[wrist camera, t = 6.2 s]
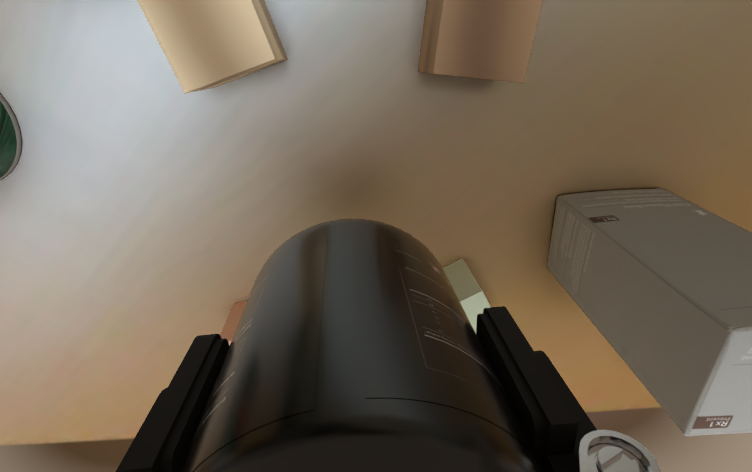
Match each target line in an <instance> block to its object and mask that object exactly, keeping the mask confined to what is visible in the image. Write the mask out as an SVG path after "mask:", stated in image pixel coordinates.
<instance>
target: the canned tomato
mask: <svg viewBox="0 0 752 472" xmlns="http://www.w3.org/2000/svg"><path fill="white" fill-rule="evenodd" d="M21 143H22V141H21V134H20V129H19V126H18V123H17V120H16V117H15V115H14V114H13V112H12V110H11V108H10V106H9V105H8V103H7V102H6V101H5V99H4V98H3V97H2V95H1V94H0V180H1V179H3V178H5V177H6V176H7V175H8V174H9V173H11V172H12V170H13V169H14V167H15V166H16V164H17V163H18V160H19V157H20V154H21Z"/></svg>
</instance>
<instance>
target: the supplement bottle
mask: <svg viewBox="0 0 752 472" xmlns="http://www.w3.org/2000/svg"><path fill="white" fill-rule="evenodd" d="M181 472H544V470H543V468H542V466H541V463H540V461H539V459H538V457H537V455H536V453H535V451H534V449H533V447H532V445H531V443H530V441H529V439H528V437H527V435H526V433H525V431H524V429H523V427H522V425H521V423H520V421H519V419H518V417H517V415H516V413H515V411H514V409H513V407H512V405H511V403H510V401H509V399H508V397H507V395H506V393H505V391H504V389H503V387H502V385H501V383H500V381H499V379H498V377H497V375H496V373H495V371H494V369H493V367H492V365H491V363H490V361H489V359H488V357H487V355H486V353H485V351H484V349H483V347H482V345H481V343H480V341H479V339H478V337H477V335H476V333H475V331H474V329H473V327H472V325H471V323H470V321H469V319H468V317H467V315H466V313H465V311H464V309H463V307H462V305H461V303H460V301H459V299H458V297H457V295H456V293H455V291H454V289H453V287H452V285H451V283H450V281H449V280H448V278H447V276H446V274H445V272H444V270H443V269H442V267H441V265H440V264H439V262H438V261H437V259H436V258H435V257H434V255H433V254H432V253H431V252H430V251H429V249H428V248H427V247H426V246H425V245H423V244H422V243H421V242H420V241H419V240H417V239H416V238H415V237H413V236H412V235H410V234H408V233H407V232H405V231H403V230H401V229H399V228H396V227H394V226H392V225H389V224H385V223H382V222H378V221H373V220H366V219H340V220H334V221H329V222H325V223H321V224H318V225H315V226H312V227H310V228H308V229H306V230H303V231H301V232H300V233H298V234H296V235H295V236H293V237H291V238H290V239H289V240H287V241H286V242H284V243H283V244H282V245H281V246H280V247H279V248H278V249H277V250H276V251H275V252H274V253H273V254H272V255H271V256H270V257H269V259H268V260H267V261H266V263H265V264H264V266H263V268H262V269H261V271H260V273H259V275H258V276H257V279H256V281H255V284H254V286H253V288H252V290H251V293H250V295H249V297H248V300H247V303H246V305H245V308H244V310H243V313H242V315H241V318H240V320H239V323H238V326H237V328H236V331H235V333H234V336H233V339H232V341H231V344H230V346H229V349H228V351H227V354H226V357H225V359H224V362H223V364H222V367H221V369H220V372H219V375H218V377H217V380H216V382H215V385H214V387H213V390H212V393H211V395H210V398H209V400H208V403H207V405H206V408H205V411H204V413H203V416H202V418H201V421H200V423H199V426H198V429H197V431H196V434H195V436H194V439H193V441H192V444H191V447H190V449H189V452H188V454H187V457H186V459H185V462H184V465H183V467H182V470H181Z"/></svg>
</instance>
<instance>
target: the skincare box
mask: <svg viewBox="0 0 752 472" xmlns="http://www.w3.org/2000/svg"><path fill="white" fill-rule="evenodd" d="M547 269H548V270H549V271H550V272H551V273H552V274H553V276H554V277H555V278H556V279H557V281H558V282H559V283H560V284H561V285H562V287H563V288H564V289H565V290H566V292H567V293H568V294H569V295H570V296H571V298H572V299H573V300H574V301H575V302H576V304H577V305H578V306H579V307H580V308H581V310H582V311H583V312H584V313H585V314H586V316H587V317H588V318H589V319H590V320H591V322H592V323H593V324H594V325H595V326H596V328H597V329H598V330H599V331H600V333H601V334H602V335H603V336H604V337H605V339H606V340H607V341H608V342H609V343H610V344H611V346H612V347H613V348H614V349H615V351H616V352H617V353H618V354H619V355H620V357H621V358H622V359H623V360H624V361H625V363H626V364H627V365H628V366H629V367H630V369H631V370H632V371H633V373H634V374H635V375H636V376H637V377H638V379H639V380H640V381H641V382H642V384H643V385H644V386H645V387H646V388H647V390H648V391H649V392H650V393H651V395H652V396H653V397H654V398H655V399H656V401H657V402H658V403H659V404H660V406H661V407H662V408H663V409H664V411H665V412H666V413H667V414H668V415H669V417H670V418H671V419H672V420H673V421H674V423H675V424H676V425H677V426H678V428H679V429H680V430H681V431H682V433H683V434H684V435H686V436H696V435H711V434H730V433H752V233H751V232H749V231H747V230H745V229H743V228H741V227H739V226H737V225H735V224H733V223H731V222H729V221H727V220H725V219H723V218H721V217H719V216H717V215H715V214H713V213H711V212H709V211H707V210H705V209H703V208H701V207H699V206H697V205H695V204H693V203H691V202H689V201H687V200H685V199H684V198H682V197H680V196H678V195H676V194H674V193H672V192H670V191H668V190H666V189H661V188H656V189H631V190H612V191H597V192H586V193H576V194H567V195H561V196H558V198H557V202H556V209H555V216H554V223H553V230H552V236H551V242H550V248H549V255H548V262H547Z"/></svg>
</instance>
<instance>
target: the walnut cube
mask: <svg viewBox="0 0 752 472" xmlns="http://www.w3.org/2000/svg"><path fill="white" fill-rule="evenodd" d="M542 2H543V0H427V3H426V11H425V19H424V27H423V34H422V42H421V50H420V58H419V65H418V71H419V72H426V73H433V74H442V75H451V76H460V77H470V78H479V79H489V80H498V81H507V82H517V83H524V82H525V77H526V73H527V68H528V64H529V60H530V55H531V51H532V46H533V42H534V38H535V33H536V29H537V24H538V20H539V16H540V11H541V7H542Z"/></svg>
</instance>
